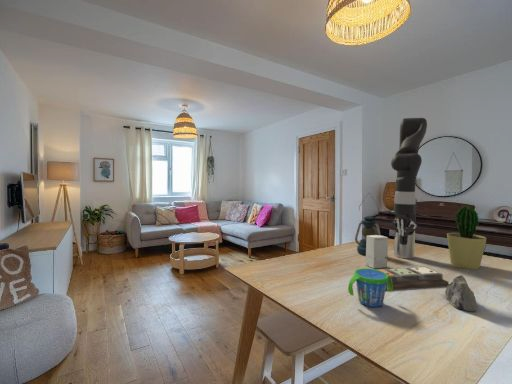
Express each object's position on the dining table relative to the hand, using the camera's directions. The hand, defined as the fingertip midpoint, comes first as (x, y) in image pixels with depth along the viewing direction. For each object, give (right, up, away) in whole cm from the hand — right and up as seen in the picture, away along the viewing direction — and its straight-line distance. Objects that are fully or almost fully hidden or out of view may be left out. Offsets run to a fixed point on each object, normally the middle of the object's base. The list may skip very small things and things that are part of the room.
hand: (403, 244), depth 109 cm
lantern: (+3, -14, +42) cm, 44 cm away
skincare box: (-2, -15, +19) cm, 25 cm away
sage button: (0, -13, 0) cm, 13 cm away
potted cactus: (+43, -15, +22) cm, 51 cm away
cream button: (+10, -13, +2) cm, 17 cm away
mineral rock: (+9, -17, -19) cm, 27 cm away
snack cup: (-22, -16, -19) cm, 34 cm away
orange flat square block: (-10, -13, -1) cm, 17 cm away
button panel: (0, -15, +1) cm, 15 cm away
